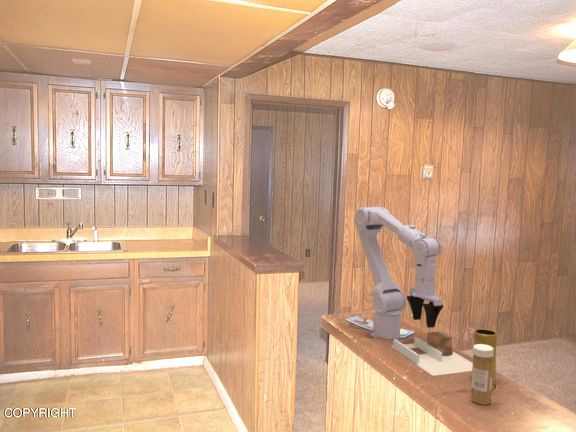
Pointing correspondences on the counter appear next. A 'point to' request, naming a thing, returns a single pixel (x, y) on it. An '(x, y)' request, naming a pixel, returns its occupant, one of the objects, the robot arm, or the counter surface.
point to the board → (442, 363)
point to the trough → (420, 345)
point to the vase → (489, 339)
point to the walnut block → (440, 341)
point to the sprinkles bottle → (482, 374)
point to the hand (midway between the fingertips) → (423, 323)
